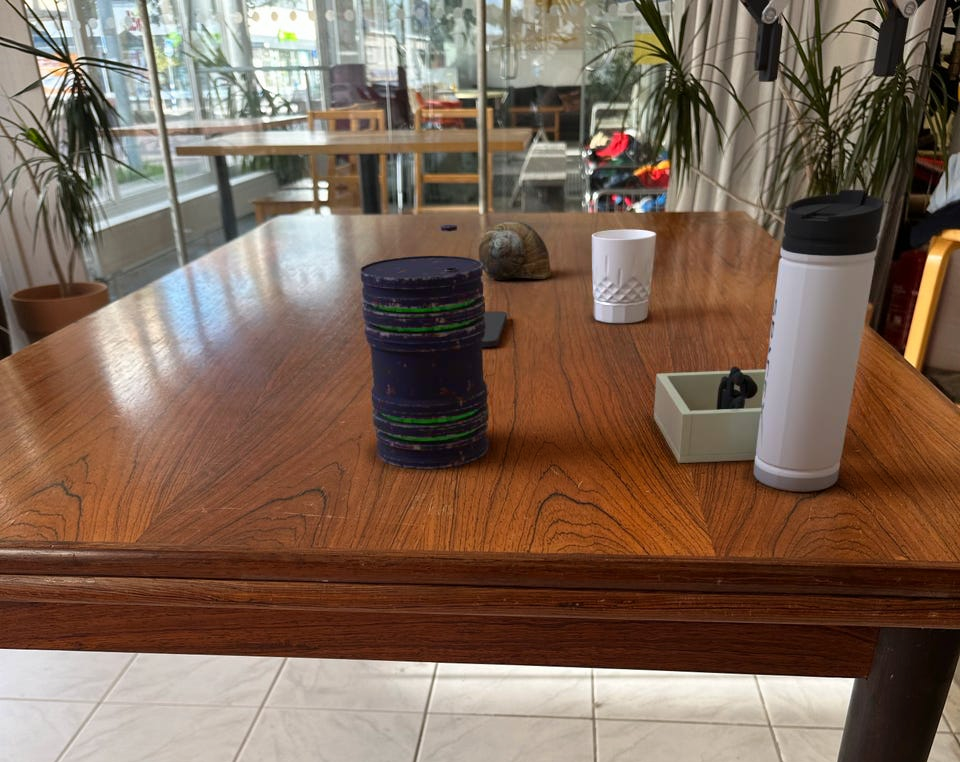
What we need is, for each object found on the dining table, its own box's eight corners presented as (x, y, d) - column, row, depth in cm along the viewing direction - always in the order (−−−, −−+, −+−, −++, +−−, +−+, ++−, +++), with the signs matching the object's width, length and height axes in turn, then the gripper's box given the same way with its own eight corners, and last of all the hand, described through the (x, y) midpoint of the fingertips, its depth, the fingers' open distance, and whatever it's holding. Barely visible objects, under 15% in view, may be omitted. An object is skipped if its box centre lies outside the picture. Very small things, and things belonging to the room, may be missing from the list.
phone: (434, 341, 110) (451, 311, 123) (434, 348, 111) (451, 318, 123) (497, 341, 109) (508, 311, 122) (497, 348, 110) (508, 317, 123)
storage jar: (352, 456, 81) (327, 230, 71) (421, 423, 88) (406, 213, 78) (446, 477, 76) (433, 237, 66) (511, 440, 83) (507, 218, 73)
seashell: (476, 284, 143) (474, 227, 139) (482, 272, 151) (480, 218, 147) (551, 282, 142) (551, 225, 138) (552, 271, 150) (552, 216, 146)
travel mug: (852, 473, 73) (903, 191, 63) (815, 499, 69) (862, 202, 59) (778, 456, 77) (814, 187, 67) (738, 480, 73) (770, 197, 63)
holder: (779, 413, 86) (785, 368, 84) (820, 457, 77) (828, 408, 74) (653, 418, 87) (656, 373, 84) (678, 463, 77) (682, 414, 74)
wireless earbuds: (712, 415, 84) (718, 358, 81) (741, 414, 84) (747, 357, 81) (729, 441, 78) (736, 381, 76) (759, 441, 78) (767, 380, 75)
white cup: (619, 308, 126) (622, 227, 120) (664, 317, 120) (669, 233, 115) (576, 318, 121) (578, 235, 116) (621, 328, 116) (625, 241, 111)
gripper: (955, -185, 72) (910, 74, 81) (731, -175, 72) (711, 83, 81) (1003, -210, 66) (949, 75, 75) (757, -199, 66) (732, 84, 75)
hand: (825, 78), depth 78 cm, fingers open, 9 cm apart
